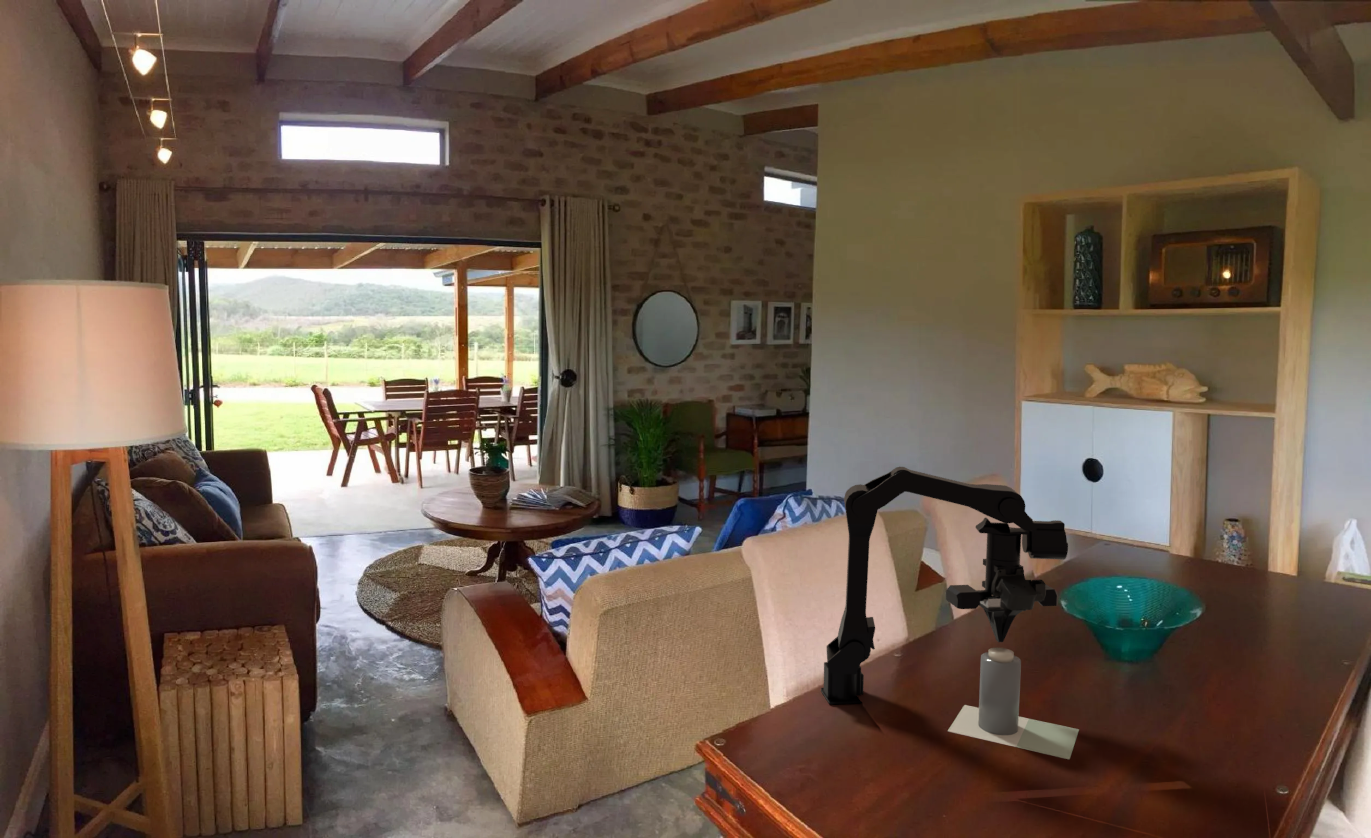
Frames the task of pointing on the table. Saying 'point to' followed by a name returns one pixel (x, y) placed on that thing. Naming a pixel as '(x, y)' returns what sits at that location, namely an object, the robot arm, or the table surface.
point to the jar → (999, 692)
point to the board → (1020, 734)
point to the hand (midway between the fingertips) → (999, 641)
